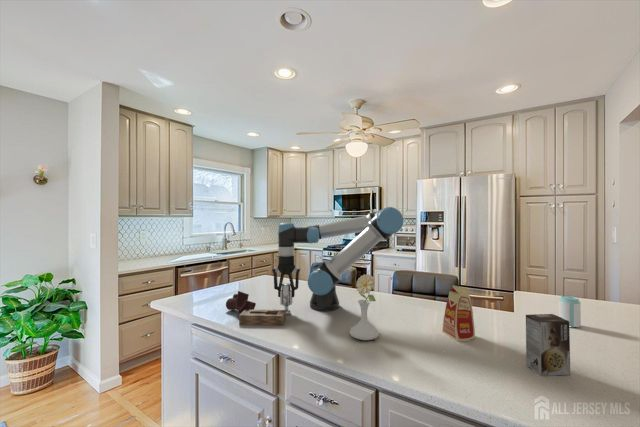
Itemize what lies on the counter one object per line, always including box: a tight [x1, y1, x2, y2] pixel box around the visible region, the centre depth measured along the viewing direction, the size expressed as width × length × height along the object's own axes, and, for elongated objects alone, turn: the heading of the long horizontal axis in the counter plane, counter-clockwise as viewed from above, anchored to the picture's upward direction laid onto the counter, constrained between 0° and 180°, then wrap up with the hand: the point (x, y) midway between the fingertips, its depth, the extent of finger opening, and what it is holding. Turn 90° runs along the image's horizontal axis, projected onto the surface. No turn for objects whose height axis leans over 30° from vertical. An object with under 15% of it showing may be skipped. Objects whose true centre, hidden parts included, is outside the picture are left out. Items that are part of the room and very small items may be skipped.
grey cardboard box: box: [525, 313, 571, 377], centre depth 89 cm, size 9×6×16 cm
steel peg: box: [281, 282, 292, 316], centre depth 140 cm, size 4×4×14 cm
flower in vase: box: [349, 273, 380, 341], centre depth 113 cm, size 13×11×25 cm
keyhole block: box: [238, 308, 287, 326], centre depth 130 cm, size 19×8×4 cm, turn 87°
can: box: [558, 295, 582, 328], centre depth 125 cm, size 7×7×12 cm
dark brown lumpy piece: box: [225, 290, 257, 314], centre depth 141 cm, size 6×17×10 cm, turn 54°
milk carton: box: [441, 284, 476, 342], centre depth 115 cm, size 9×9×20 cm
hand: (286, 303), depth 140 cm, fingers closed on steel peg, 4 cm apart
